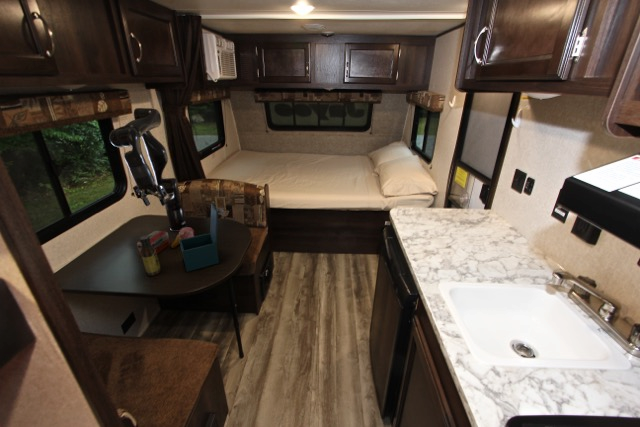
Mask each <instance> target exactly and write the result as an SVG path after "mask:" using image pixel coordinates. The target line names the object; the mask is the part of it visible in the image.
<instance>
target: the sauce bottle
mask: <svg viewBox="0 0 640 427" xmlns="http://www.w3.org/2000/svg"><path fill="white" fill-rule="evenodd" d="M140 241H141V244H142V249H141V254H142V256H141V259H142V262H143V266H144V269H145V272H146V274H147V276H150V277H151V276H156V275H158V274H159V273H161V264H160V261H159V256H158V254H157V253H156V249H155V248H154V247H153V246H152V245H151V243H150V237H149V236H148V235H142V236H140V237H139V242H140Z"/></svg>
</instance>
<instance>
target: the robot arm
mask: <svg viewBox="0 0 640 427" xmlns="http://www.w3.org/2000/svg"><path fill="white" fill-rule="evenodd" d="M133 118H134V119H132V120H130V121H129V122H128V123H126V124H125V125H122V126H119V127H117V128H114V129H112V130H111V131H110V133H109V135H108V136H109V137H108V138H109V142H110V143H111V144H112V145H113V146H114V147H117V148H125V147H131V150H128V151H125V153H123V158H124V160H125V163H126V166H127V167H128V168H129V169H128V170H129V172H130V174H131V177H132V179H133V181H134V183H135V185H134V186H133V187H132V189H133V192H134V194H135V197H136V198H137V199H141V201H142V202H143V204H144V205H145V206H146V207H149V206H150V205H151V202H150V200H149V198H148V197H147V196H154V197H156V198H158V200H159V202H160V204H161V206H162V207H165V208H164V209H165V213H166V216H167V217H166V218H167V221H168V226H169V230H170V231H171V232H175V233H176V232H179V231H180V230H181V229H182V228H186V227H187V224H186V219H185V214H184V210H183V205H182V204H183V203H182V199H181V195H180V194H181V193H180V188H179V183H178V179H177V178H175V177H168V178H167V177H166V178H163V173H164V171H165V168H166V166H167V165H168V163H169V157H168V153H167V150H166V147H165V146H164V145H163V144H162V143H161V141H159V140H158V139H157V138H156V137H155V136H154V135H153V134H152V132H151V130H154V129H156V128H159V127H160V126H161V125H162V116H161V113H160V111H159V110H158V109H156V108H152V107H147V108H146V107H136V108H134V109H133ZM141 138H142V141H143V144H144V148H145V150H146V154H147V158H148V161H149V162H150V166H151V168H152V171H153V173H152V171H151V168H150V167H149V165H148V163H147V161H146V159H145V157H144V155H143V151H142V144H141ZM171 194H172V195H171ZM168 195H171V196H168ZM167 196H168V197H167Z"/></svg>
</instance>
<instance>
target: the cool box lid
mask: <svg viewBox="0 0 640 427" xmlns="http://www.w3.org/2000/svg"><path fill="white" fill-rule="evenodd" d="M219 215H221V216H222V217H223V216H226V212H225V210H224V209H223V208H222V207H221V208H219V209H217V208H216V206H215V205H214V203H210V219H209V220H210V222H209V223H210V224H209V233H211V235H212V237H213V239H214V241H215V243H216V244H217V243H218V227H219V226H218V224H219Z"/></svg>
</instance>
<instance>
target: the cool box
mask: <svg viewBox="0 0 640 427" xmlns="http://www.w3.org/2000/svg"><path fill="white" fill-rule="evenodd" d="M179 242H180V244H179V245H180V250H181V254H182V259H183V263H184V266H185V267H184V268H185V270H186V272H187V273H188V272H192V271H195V270H200V269H202V268H206V267H210V266H213V265H217V264H220V259H219V253H218V247H217V243H215V241H214V239H213V237H212V235H211V233H210V232H208V233H204V234H199V235H194V237H190V238H186V239H181V240H179Z"/></svg>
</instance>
